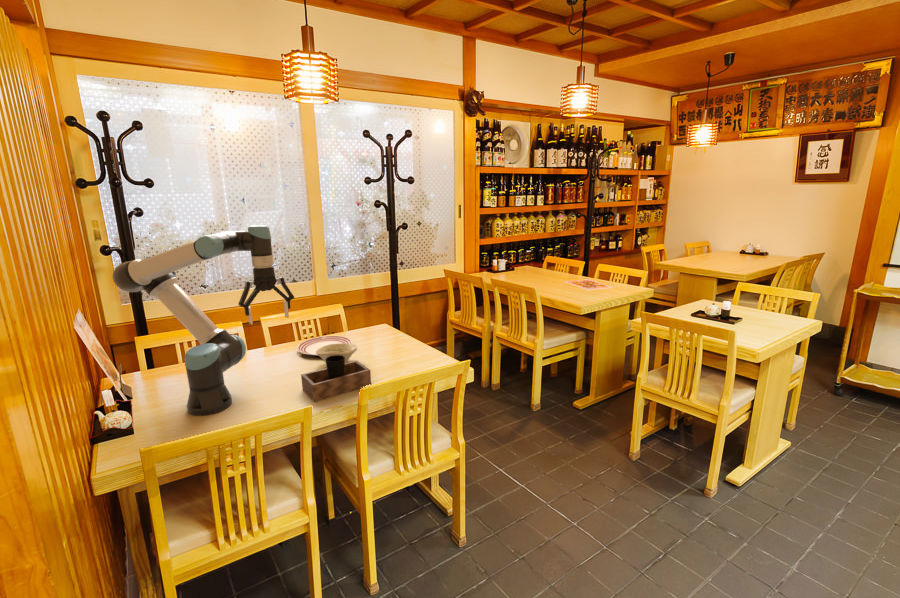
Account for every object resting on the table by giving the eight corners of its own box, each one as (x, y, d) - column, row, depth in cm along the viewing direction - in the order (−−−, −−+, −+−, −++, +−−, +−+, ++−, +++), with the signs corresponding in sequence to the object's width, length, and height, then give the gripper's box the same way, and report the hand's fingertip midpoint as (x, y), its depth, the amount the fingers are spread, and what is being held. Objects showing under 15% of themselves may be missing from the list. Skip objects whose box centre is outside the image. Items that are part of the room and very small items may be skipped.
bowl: (324, 378, 206) (308, 354, 210) (356, 364, 218) (340, 341, 223) (332, 362, 196) (315, 337, 201) (364, 348, 209) (348, 325, 214)
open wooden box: (314, 402, 173) (312, 385, 171) (302, 390, 183) (301, 374, 182) (371, 385, 187) (370, 369, 185) (357, 375, 197) (356, 360, 196)
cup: (341, 390, 181) (339, 362, 178) (324, 388, 182) (322, 361, 179) (349, 382, 188) (347, 355, 185) (333, 381, 189) (330, 354, 187)
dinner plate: (345, 359, 217) (345, 353, 216) (289, 359, 218) (289, 353, 217) (357, 341, 244) (357, 335, 243) (307, 341, 244) (307, 335, 244)
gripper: (229, 271, 159) (237, 328, 164) (299, 264, 174) (304, 316, 179) (225, 268, 165) (232, 323, 170) (293, 261, 179) (297, 312, 184)
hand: (269, 320), depth 174 cm, fingers open, 13 cm apart
